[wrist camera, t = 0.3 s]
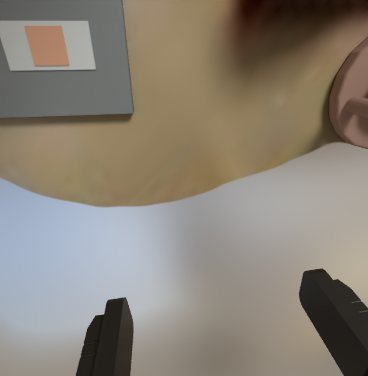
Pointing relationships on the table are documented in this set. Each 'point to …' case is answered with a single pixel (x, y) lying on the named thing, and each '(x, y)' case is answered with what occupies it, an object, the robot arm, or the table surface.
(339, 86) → the hourglass
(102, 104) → the board
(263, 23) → the table surface
